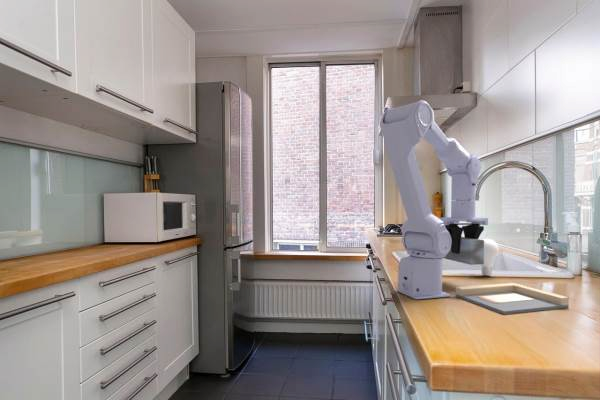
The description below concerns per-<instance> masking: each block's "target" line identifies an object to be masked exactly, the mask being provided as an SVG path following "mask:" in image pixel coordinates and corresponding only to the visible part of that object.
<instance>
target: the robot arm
mask: <svg viewBox="0 0 600 400" xmlns="http://www.w3.org/2000/svg"><path fill="white" fill-rule="evenodd" d="M379 127H380V130H381V134H382V136H383V141H384V143H385V148H386V153H387V157H388V159H389V164H390V166H391V169H392V172H393V176H394V179H395V181H396V185H397V189H398V191H399V192H398V193H399V195H400V199H401V201H402V205H403V208H404V211H405V214H406V217H407V219H406V220H405V222H403V223H402V225H401V227H400V230H401V234H402V237H401V241H402V245H403V249H404V250H406V253H407V255H408V256H403V257H402V258H401V259H400V260H399V262H398V267H397V268H398V271H397V272H398V274H397V277H398V278H397V283H398V284H397V288H396V292H399V293H401V294H403V295H405V296H408V297H410V298H412V299H414V300H423V299H424V300H425V299H434V298H446V297H447V298H449V297H451V295H452V294H451V293H448V292H445V291H443V257H446V255H447V253H448V252H449V251H450V248H451V252H452V253H455V254H459V252H460V241H461V237H466V238H473V239H479V238H480V236H481V234H482V233H483V231H485V227H484V226H489V217H476V186H477V185H476V184H477V183H478V181H479V175H480V173H481V169H482V166H481V162H480V159H479V156H476V155H475V154H472V153H471V154H469V153H468V151H466V150H465V149H464V148H463V146H462V145H461V144H460V143H459V142H458V141H457V140H456V138H454V137H447V136H446V134H445V133H444V132H443V131H442V129H441V128H440V127H439V125H438V124H437V123H436V122H435V112H434V109H433V108H432V107H431V106H430V104H429V103H428V102H427V101H426V100H423V99H420V100H418V101H416V102H412V103H409V104H405V105H401V106H398V107H393V108H387V109H386V110H384V112H383V114H382V115H381V118H380V120H379ZM422 140H424V141H425V142H427V143H428V144H430V145H431V146H432V147H433V148H434V154H435V156H436V157H437V158H438V159H439V160H440V161H441V162H442V163H443V164H444V167H445V168H446V172H447V175H448V176H449V177H450V178H451V188H450V189H451V193H450V194H451V196H450V197H451V200H450V202H451V203H450V216H449V217H448V216H447V217H438V216H436V215H435V214H433V213H432V209H431V206H430V202H429V200H428V195H427V192H426V188H425V186H424V183H423V182H424V181H423V178H422V175H421V171H420V168H419V164H418V161H417V158H416V154H415V147H416V145H418V144H419V143H420V142H421V141H422ZM462 235H463V236H462Z"/></svg>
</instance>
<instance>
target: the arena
mask: <svg viewBox="0 0 600 400" xmlns="http://www.w3.org/2000/svg"><path fill="white" fill-rule="evenodd" d="M455 297H456V298H459V299H461V300H465V301H467V302H470V303H473V304H475V305H478V306H481V307H484V308H486V309H489V310H491V311H494V312H496V313H499V314H502V315H511V314H512V315H513V314H521V313H531V312H539V311H549V310H558V309H559V310H560V309H566V308H567V309H569V306H570V305H569V304H570V303H569V299H570V298H569V297H568V296H565V295H561V294H557V293H555V292H554V293H553V292H551V291H550V292H549V291H546V290H542V289H537V288H533V287H530V286H527V285H522V284H519V283H516V282H515V283H514V282H508V283H507V282H506V283H494V284H481V285H469V286H468V285H465V286H464V285H463V286H456V287H455Z"/></svg>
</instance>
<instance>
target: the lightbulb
mask: <svg viewBox="0 0 600 400" xmlns="http://www.w3.org/2000/svg"><path fill="white" fill-rule="evenodd" d="M481 240H484V264H480V265H481V266H480V267H481V275H482V276H484V275H485V276H484V277H489V276H491V275H492V274H493V273H492V269H493V265H494V263H495V260H496V259H497V258H498V256H499V254H500V247H499V244H498V242H496V241H495V240H493V239H491V238H483V239H481Z"/></svg>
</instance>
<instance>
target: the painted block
mask: <svg viewBox="0 0 600 400" xmlns="http://www.w3.org/2000/svg"><path fill="white" fill-rule="evenodd" d="M442 259H445V260H450V261H452V262H453V261H454V262H457V263H460V264H461V263H462V264H465V265H471V266H473V265H474V266H476V265H481V264H484V240H482V239H479V238H478V239H473V238H466V237H464V236H461V241H460V252H459V254H455V253H452V252H451V248H450V251H449V252H448V253H447V255H446V257H442Z"/></svg>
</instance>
